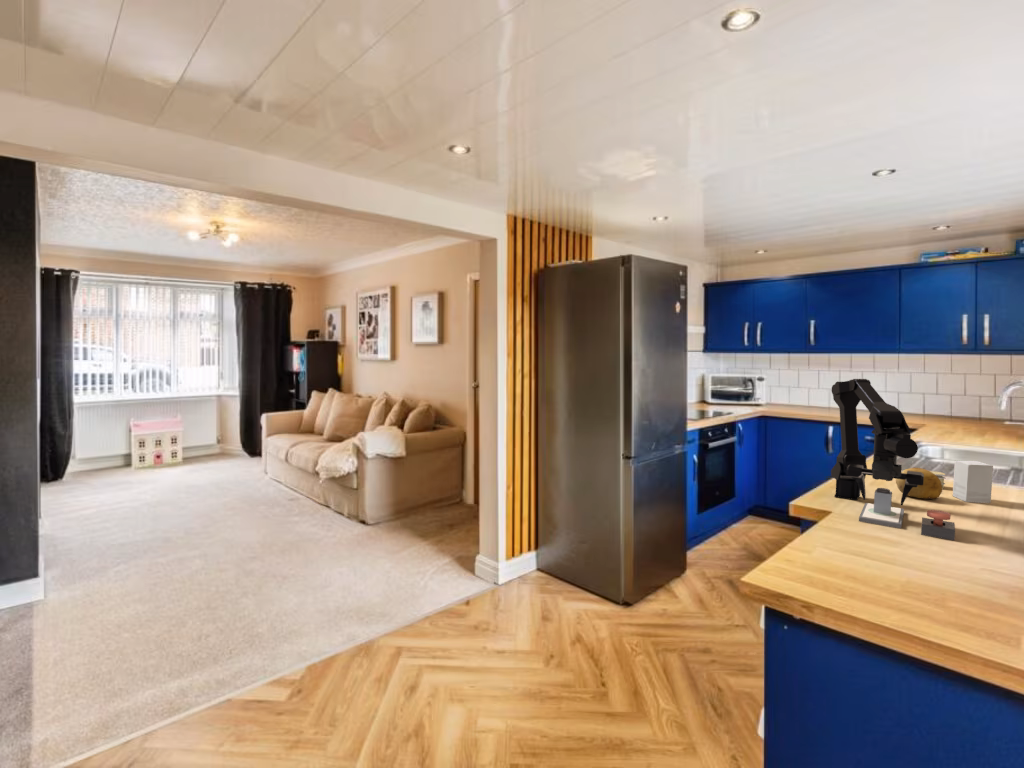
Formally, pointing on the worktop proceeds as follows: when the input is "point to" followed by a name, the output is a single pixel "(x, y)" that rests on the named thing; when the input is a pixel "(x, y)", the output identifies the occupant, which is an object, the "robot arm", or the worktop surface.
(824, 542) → the worktop surface
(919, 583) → the worktop surface
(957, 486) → the supplement box
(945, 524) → the button housing
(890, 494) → the grey rectangular block
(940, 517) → the button
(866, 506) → the drawing board
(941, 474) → the stacked layers on plate
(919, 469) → the potato
